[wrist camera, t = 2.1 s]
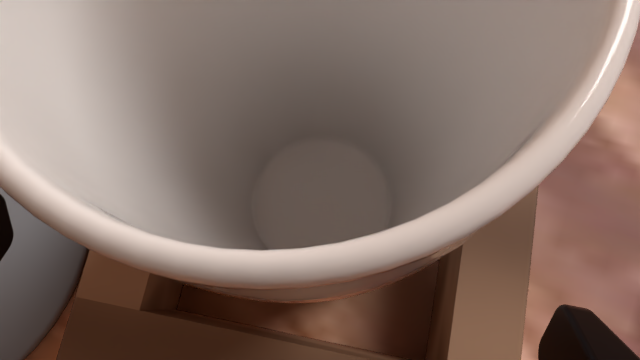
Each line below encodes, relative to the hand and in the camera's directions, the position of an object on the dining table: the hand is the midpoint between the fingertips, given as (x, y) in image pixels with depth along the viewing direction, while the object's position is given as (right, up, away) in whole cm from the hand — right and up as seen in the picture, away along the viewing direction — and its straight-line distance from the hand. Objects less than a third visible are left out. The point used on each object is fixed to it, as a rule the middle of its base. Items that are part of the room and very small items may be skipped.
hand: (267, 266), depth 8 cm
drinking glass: (+1, 0, +11) cm, 11 cm away
